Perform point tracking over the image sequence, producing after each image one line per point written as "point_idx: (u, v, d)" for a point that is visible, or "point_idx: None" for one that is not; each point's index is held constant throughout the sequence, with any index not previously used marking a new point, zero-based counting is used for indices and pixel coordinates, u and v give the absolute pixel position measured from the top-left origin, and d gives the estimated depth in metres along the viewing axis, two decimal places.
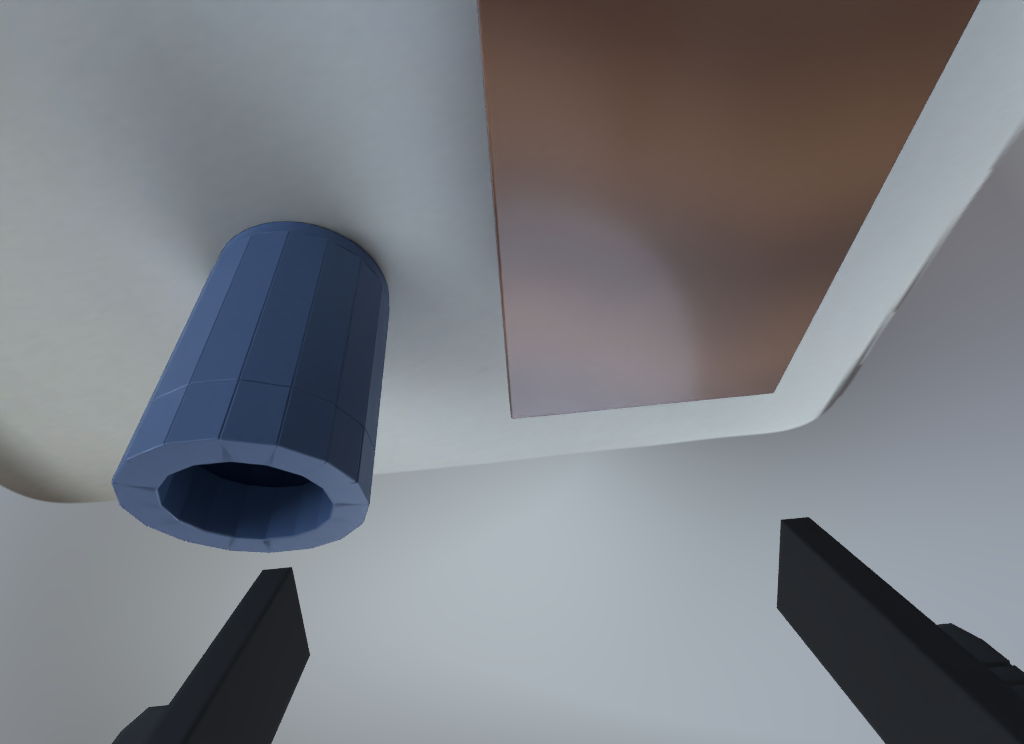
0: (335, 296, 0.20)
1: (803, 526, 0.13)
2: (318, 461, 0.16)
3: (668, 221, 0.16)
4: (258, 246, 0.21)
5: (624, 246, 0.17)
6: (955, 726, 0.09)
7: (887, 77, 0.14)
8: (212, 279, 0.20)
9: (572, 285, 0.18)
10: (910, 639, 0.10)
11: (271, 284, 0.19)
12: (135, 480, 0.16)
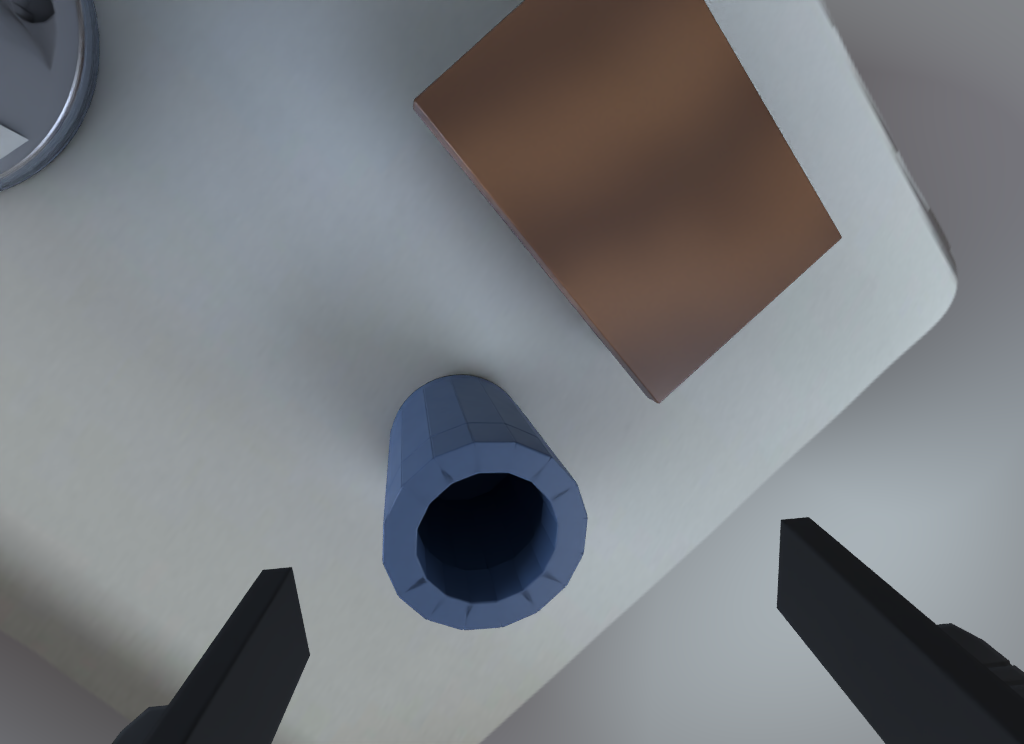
0: (470, 391, 0.25)
1: (803, 526, 0.13)
2: (511, 445, 0.19)
3: (626, 164, 0.22)
4: (408, 405, 0.27)
5: (614, 199, 0.23)
6: (955, 726, 0.09)
7: (665, 4, 0.21)
8: (390, 441, 0.26)
9: (606, 250, 0.23)
10: (910, 639, 0.10)
11: (425, 405, 0.25)
12: (397, 549, 0.19)
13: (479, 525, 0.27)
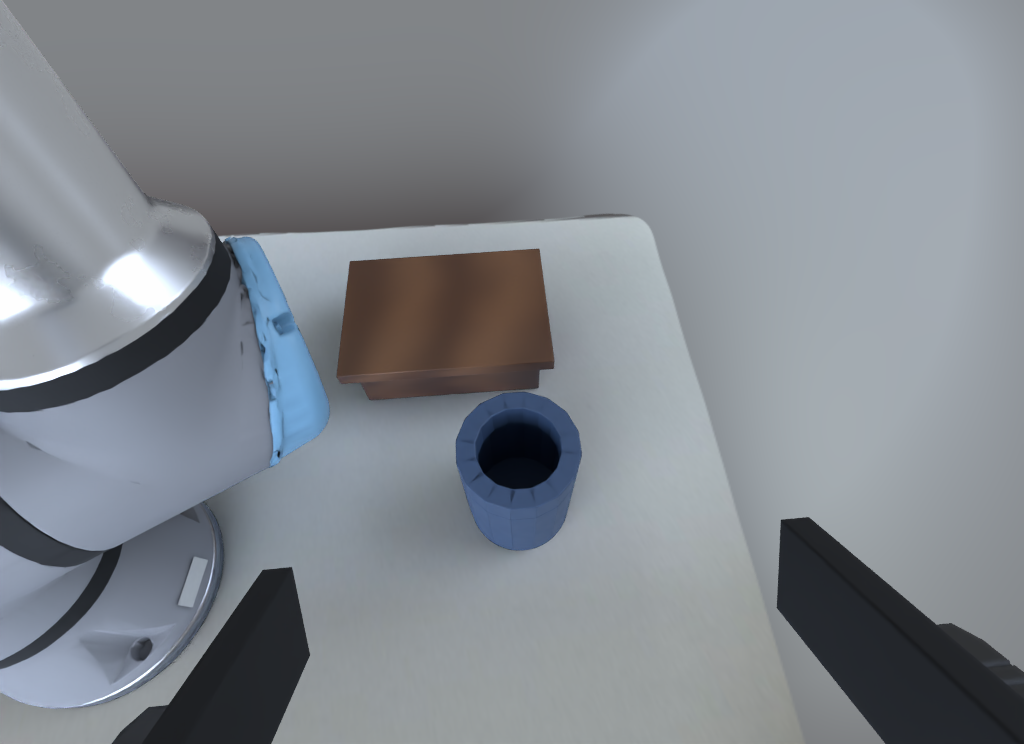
0: None
1: (803, 526, 0.13)
2: (480, 405, 0.33)
3: (431, 314, 0.43)
4: None
5: (441, 326, 0.43)
6: (955, 726, 0.09)
7: (389, 271, 0.46)
8: (475, 519, 0.38)
9: (459, 341, 0.42)
10: (910, 639, 0.10)
11: None
12: (484, 489, 0.30)
13: None
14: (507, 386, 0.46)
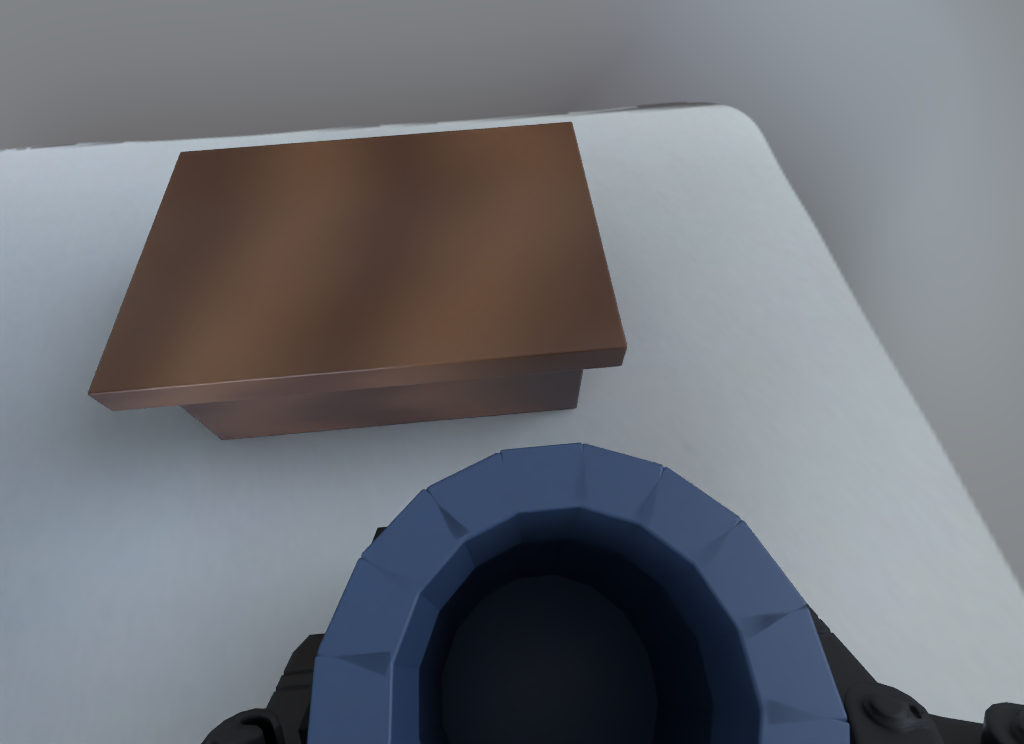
0: None
1: None
2: (422, 499, 0.09)
3: (339, 248, 0.19)
4: None
5: (358, 273, 0.18)
6: None
7: (258, 167, 0.22)
8: None
9: (397, 306, 0.18)
10: None
11: None
12: None
13: None
14: (512, 406, 0.22)
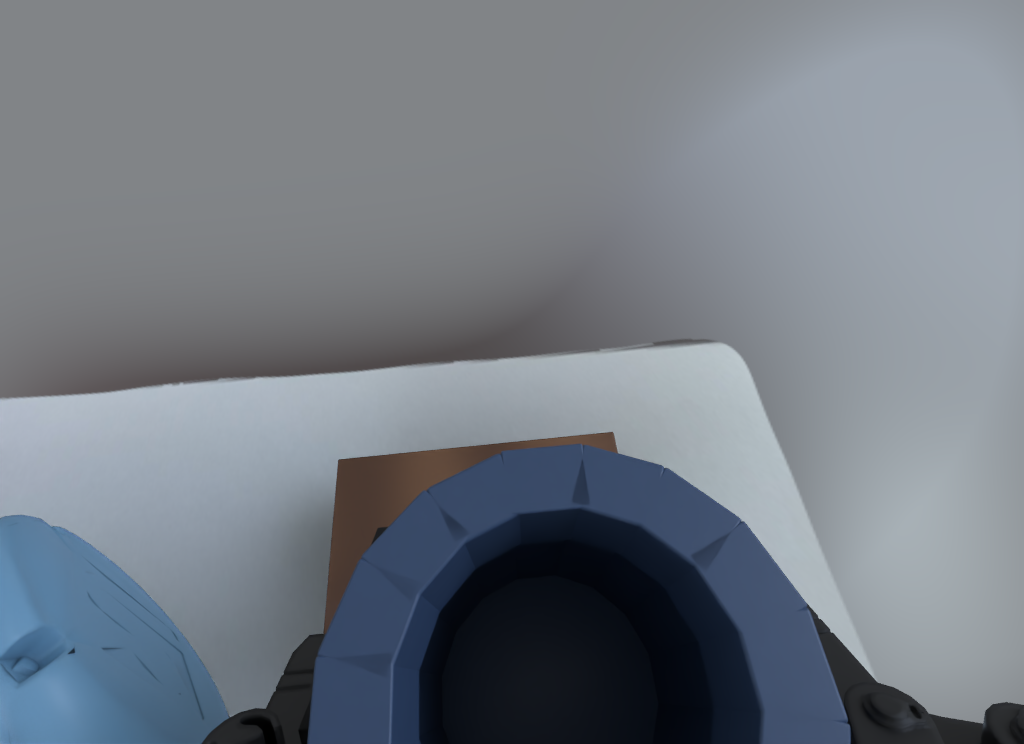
0: None
1: None
2: (422, 500, 0.09)
3: None
4: None
5: None
6: None
7: (396, 476, 0.31)
8: None
9: None
10: None
11: None
12: None
13: None
14: None
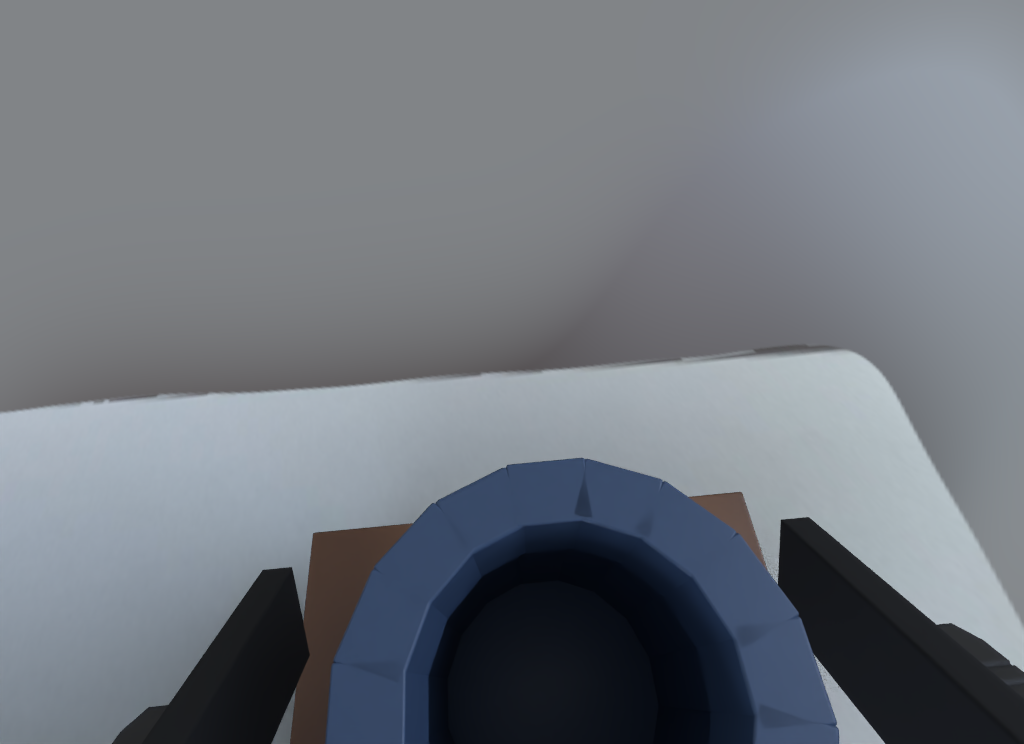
0: None
1: (803, 526, 0.13)
2: (432, 512, 0.09)
3: None
4: None
5: None
6: (955, 726, 0.09)
7: None
8: None
9: None
10: (910, 639, 0.10)
11: None
12: None
13: None
14: None
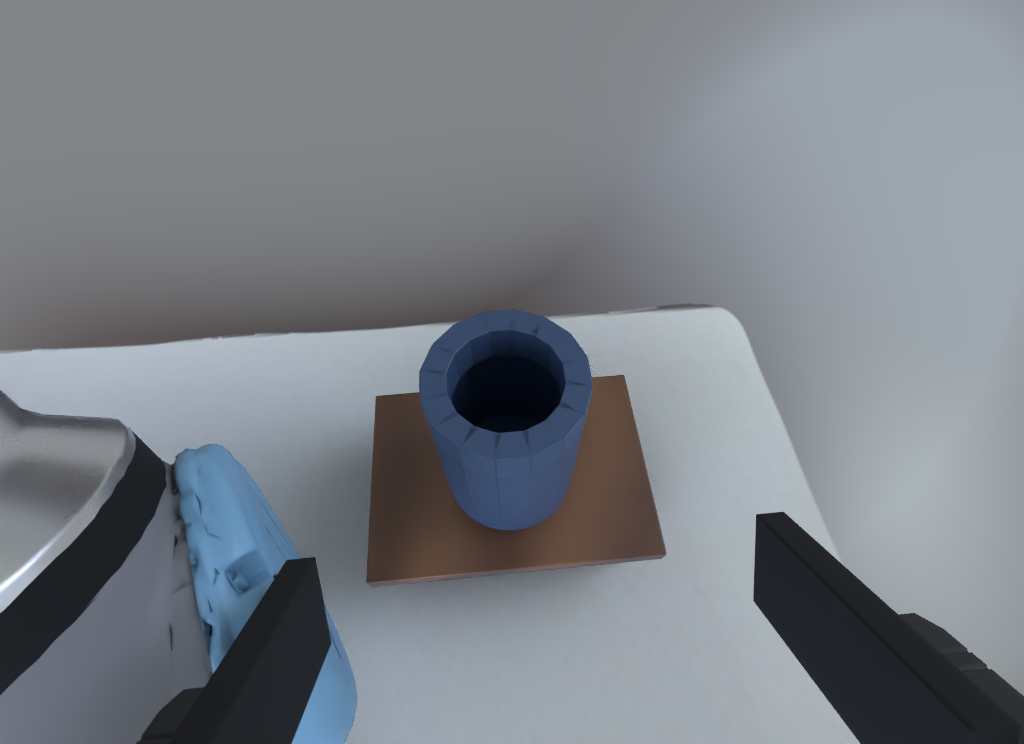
0: None
1: (777, 520, 0.14)
2: (454, 327, 0.24)
3: None
4: None
5: None
6: (910, 709, 0.09)
7: None
8: (452, 489, 0.29)
9: None
10: (871, 627, 0.10)
11: None
12: (459, 433, 0.22)
13: None
14: None
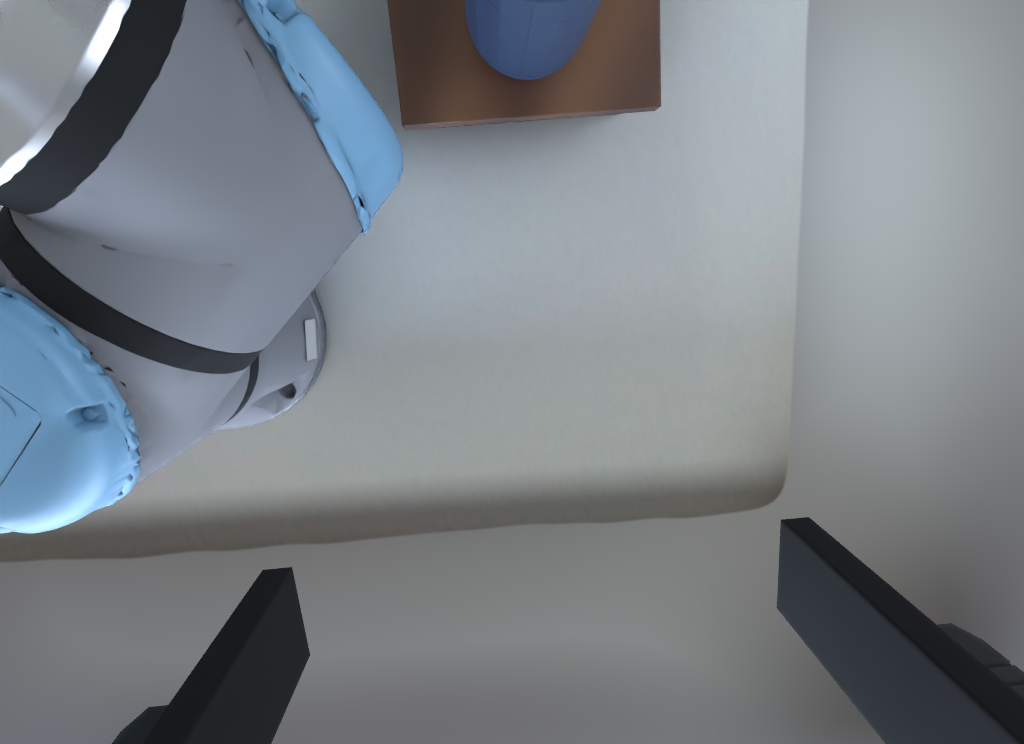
0: None
1: (803, 526, 0.13)
2: None
3: None
4: None
5: None
6: (955, 726, 0.09)
7: None
8: (476, 34, 0.30)
9: None
10: (910, 639, 0.10)
11: None
12: None
13: None
14: None
